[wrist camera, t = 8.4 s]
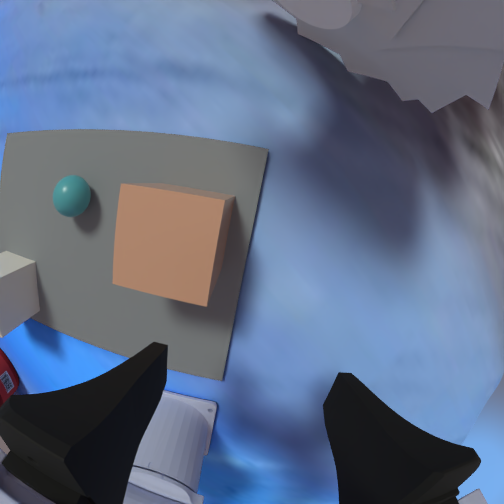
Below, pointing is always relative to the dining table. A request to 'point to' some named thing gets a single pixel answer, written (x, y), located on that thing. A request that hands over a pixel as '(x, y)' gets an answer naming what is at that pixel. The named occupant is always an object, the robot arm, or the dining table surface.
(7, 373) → the canned food
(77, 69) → the dining table surface
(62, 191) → the teal ball
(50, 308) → the mat
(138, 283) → the clay colored cube
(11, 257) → the pale gray cube
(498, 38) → the white bladed rotor
